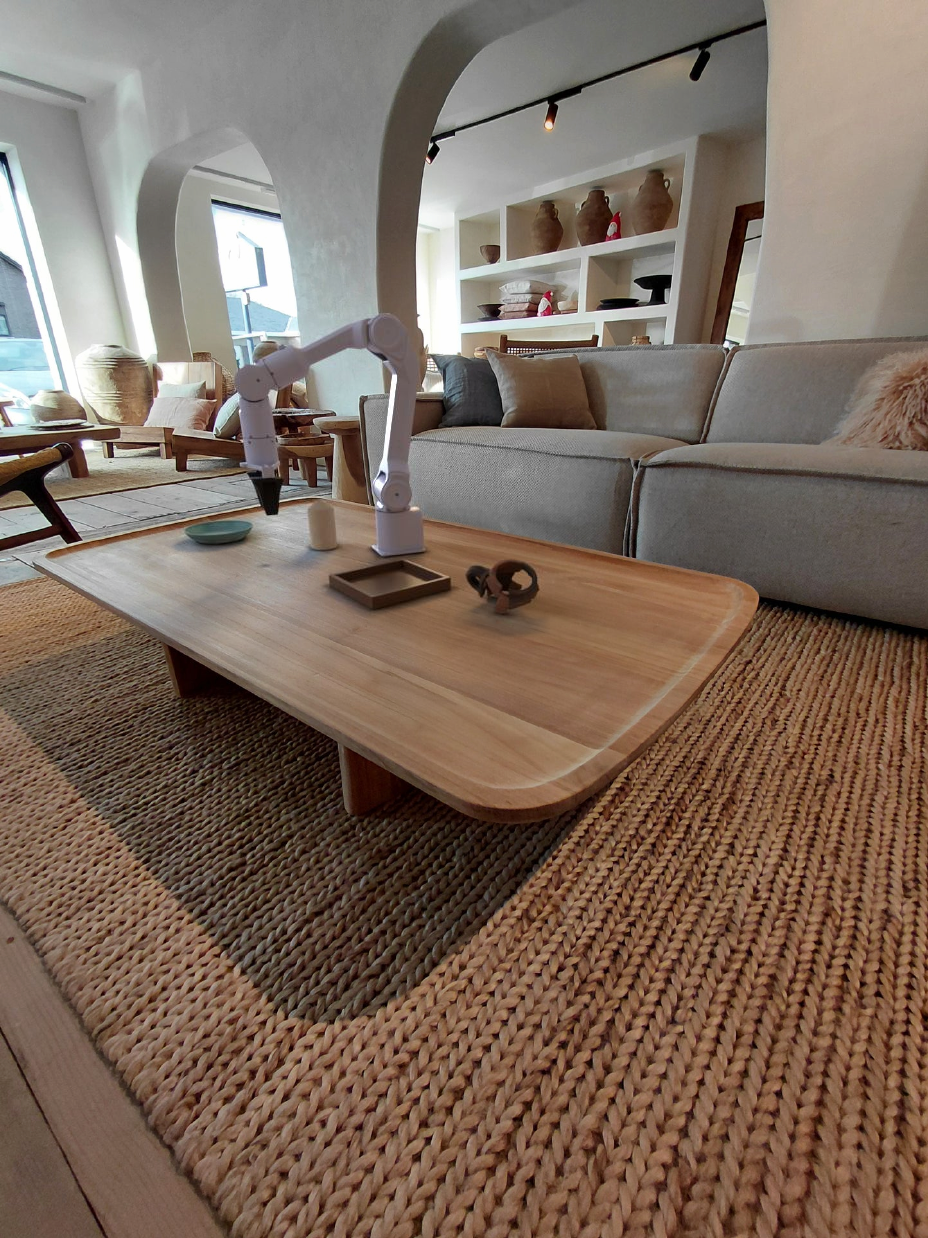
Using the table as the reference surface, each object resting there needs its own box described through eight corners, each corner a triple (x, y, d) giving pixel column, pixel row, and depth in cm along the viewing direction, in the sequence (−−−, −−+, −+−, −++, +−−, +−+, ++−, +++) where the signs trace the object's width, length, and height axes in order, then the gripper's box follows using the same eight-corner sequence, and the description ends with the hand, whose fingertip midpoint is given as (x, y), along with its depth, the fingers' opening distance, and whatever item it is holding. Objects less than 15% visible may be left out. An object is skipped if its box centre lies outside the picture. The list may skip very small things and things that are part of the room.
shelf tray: (403, 568, 110) (403, 558, 109) (451, 588, 99) (450, 577, 99) (329, 586, 101) (328, 574, 100) (372, 609, 90) (371, 597, 90)
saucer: (268, 533, 135) (266, 521, 134) (226, 549, 122) (224, 537, 121) (216, 528, 140) (214, 517, 139) (170, 543, 127) (167, 532, 126)
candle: (313, 543, 127) (308, 498, 123) (338, 543, 127) (334, 497, 123) (309, 550, 122) (304, 503, 118) (335, 550, 122) (331, 502, 118)
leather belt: (536, 596, 97) (548, 563, 91) (523, 638, 91) (535, 606, 85) (468, 574, 98) (476, 540, 92) (451, 615, 92) (458, 581, 86)
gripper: (233, 434, 110) (244, 505, 115) (239, 441, 98) (251, 520, 103) (271, 433, 113) (280, 502, 118) (282, 439, 101) (291, 516, 106)
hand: (269, 511), depth 111 cm, fingers open, 7 cm apart
